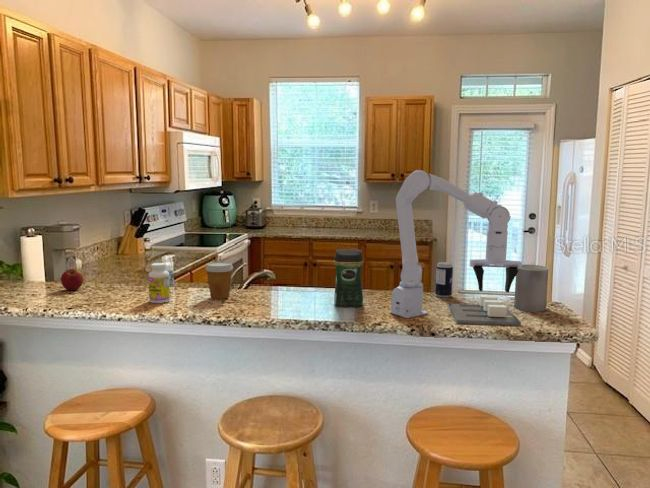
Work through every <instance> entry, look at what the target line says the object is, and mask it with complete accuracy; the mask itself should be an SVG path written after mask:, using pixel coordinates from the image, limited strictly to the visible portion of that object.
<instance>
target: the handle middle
mask: <svg viewBox="0 0 650 488" xmlns="http://www.w3.org/2000/svg"><path fill="white" fill-rule="evenodd" d="M488 305H503V302H502V301H501V300H500V299H497V300H484V304H483V309H484V311H488Z"/></svg>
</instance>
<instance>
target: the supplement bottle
mask: <svg viewBox="0 0 650 488" xmlns="http://www.w3.org/2000/svg"><path fill="white" fill-rule="evenodd" d="M150 267H151V271H149V272H148V293H149V294H148V295H149V296H148V297H149V302H150V303H151V304H152V303H153V304H165V303H168V302H169V301H170V300H171V289H170V287H171V286H170V285H171V283H170V273H169V271H168V270H166V268H167V263H166V262H154V263H151V265H150ZM164 302H165V303H164Z"/></svg>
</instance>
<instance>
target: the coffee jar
mask: <svg viewBox="0 0 650 488" xmlns="http://www.w3.org/2000/svg"><path fill="white" fill-rule="evenodd" d="M333 264H334V267H335V286H334V294H333V295H334V296H333V297H334V298H333V303H334V305H335V306H337V307H343V308H347V307H348V308H351V307H352V308H353V307H354V308H355V307H360V306H362V305H363V303H364V295H363V285H362V269H363V268H362V267H363V265H364V259H363V252H362V250H361V249H347V248H346V249H345V248H344V249H343V248H342V249H336V251H335V255H334V260H333Z"/></svg>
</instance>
